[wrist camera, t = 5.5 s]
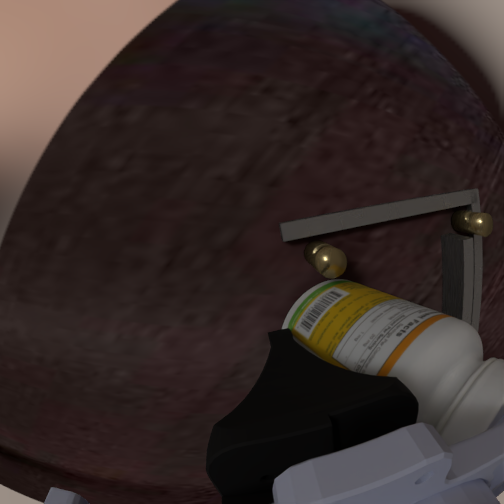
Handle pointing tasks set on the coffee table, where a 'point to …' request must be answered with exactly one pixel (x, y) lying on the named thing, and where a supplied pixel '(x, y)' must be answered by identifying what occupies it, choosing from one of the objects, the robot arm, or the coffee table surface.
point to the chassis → (453, 245)
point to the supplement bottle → (404, 352)
